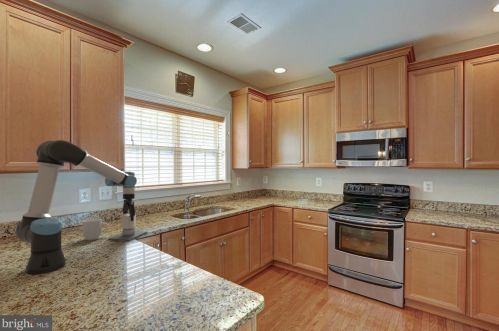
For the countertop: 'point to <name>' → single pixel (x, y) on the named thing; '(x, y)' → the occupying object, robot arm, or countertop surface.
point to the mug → (93, 228)
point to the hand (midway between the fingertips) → (128, 224)
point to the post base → (125, 238)
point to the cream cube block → (127, 221)
